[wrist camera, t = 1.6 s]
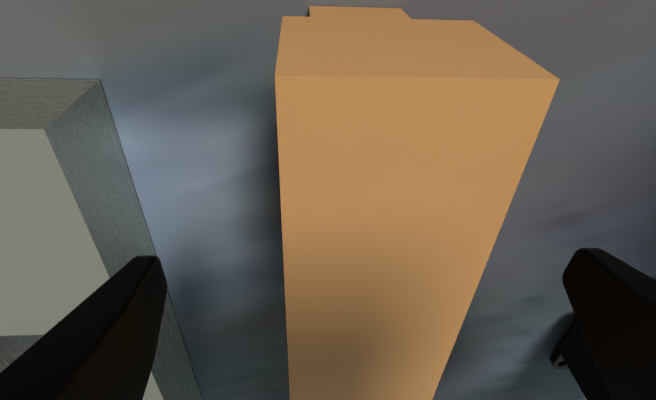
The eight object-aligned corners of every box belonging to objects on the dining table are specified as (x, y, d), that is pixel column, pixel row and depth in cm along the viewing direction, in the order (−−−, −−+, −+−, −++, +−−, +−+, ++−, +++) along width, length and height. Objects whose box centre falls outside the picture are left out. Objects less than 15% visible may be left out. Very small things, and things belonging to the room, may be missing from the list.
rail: (99, 79, 11) (44, 129, 9) (216, 444, 25) (208, 500, 23) (-216, 75, 10) (-370, 127, 8) (87, 450, 25) (65, 508, 22)
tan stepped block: (424, -13, 10) (560, 79, 5) (382, 244, 15) (425, 416, 10) (287, -17, 10) (274, 75, 5) (293, 245, 15) (290, 423, 10)
